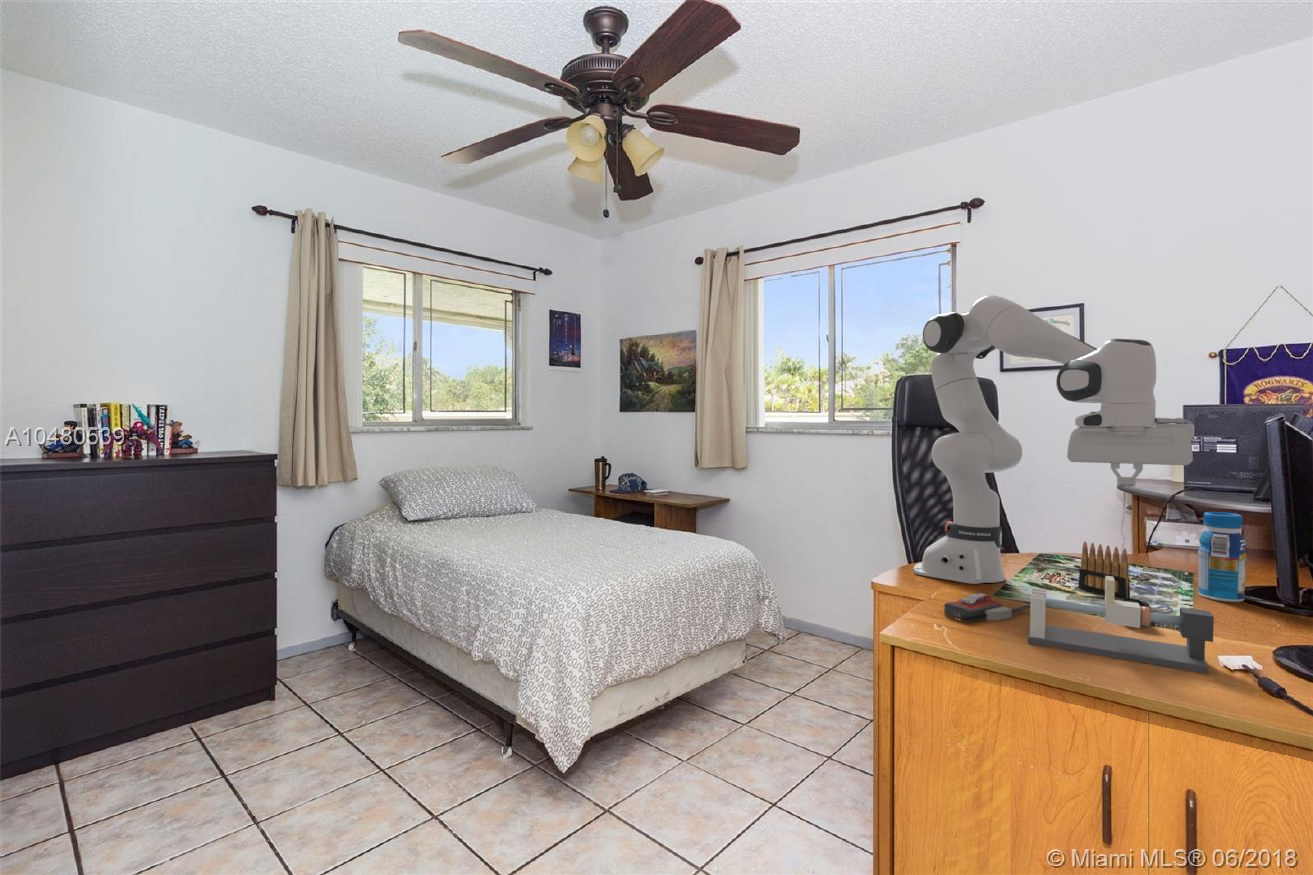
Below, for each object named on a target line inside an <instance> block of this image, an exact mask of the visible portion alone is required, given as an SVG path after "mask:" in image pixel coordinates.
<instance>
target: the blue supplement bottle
mask: <svg viewBox="0 0 1313 875" xmlns="http://www.w3.org/2000/svg"><path fill="white" fill-rule="evenodd" d="M1203 527H1206V529H1205V530H1203V532H1202V533H1201V535H1200V536H1199V539H1198V542H1199V544H1200V546H1199V547H1198V550H1197V554H1198V586H1197V587H1198V588H1197V593H1198V595H1199V596H1201V597H1202V598H1206V599H1209V600H1213V601H1219V602H1228V603H1241V602H1244V600H1245V598H1246V597H1245V592H1246V591H1245V590H1246V587H1245V586H1246V561H1247V553H1246V551H1245V548H1246V547H1247V542H1246V540H1245V538H1244V537H1243V535H1242V534H1241V533H1240V532H1239V530H1242V528H1243V516H1242V515H1241V514H1239V513H1232V512H1224V511H1207V512H1206V511H1205V512H1204V514H1203Z"/></svg>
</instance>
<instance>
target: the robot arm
mask: <svg viewBox="0 0 1313 875" xmlns="http://www.w3.org/2000/svg"><path fill="white" fill-rule="evenodd" d="M922 330H923V331H922V340H923V344H924V346H925V347H926V348H927V349H928V350H929V351H930V352H934V353H936V354H935V355H934V356H933V357H932V359H931V362H930V369H931V378H932V383H933V384H932V385H933V388H934V392H935V395H936V398H937V402H938V405H939V409H940V412H941V415H942V416H941V417H942V418H943V419H944V420H945V421H946V422H947V423H949V424H951V425H952V426H953V427H954V428H955V429H956V430H958V432H953V433H949V434H945V435H942V436H940V437H938V438H937V439H936V440H935V441H934V443H933V445H932V448H931V459H932V461H933V464H934V465H935V467H936V468H937V469H938V470H939V471H941V472H942V473H943V474H944V476H945V477H946V480H947V481H948V483H949V486H950V490H951V494H952V508H953V509H952V510H953V515H952V516H953V519H952V520H953V521H950V520H949V521H947V522H946V523H945V524H944V533H945V535H944V536H943V537H941V538H939V539H938V540H936V541H935V542H933V543H932V544H930V545H929V546H927V547H926V548H925V550H924V552H923V555H922V561H921V562H918V563H916V564H915V565H914V566H913V573H914V574H916V575H918V576H924V577H929V578H935V579H942V580H949V581H954V582H958V583H965V584H969V585H971V584H972V585H978V584H985V583H986V584H987V583H991V584H992V583H1001V582H1004V581H1006V579H1007V577H1006V574H1005V572H1004V571H1005V570H1004V567H1003V563H1002V562H1003V561H1002V555H1001V547H1002V539H1003V537H1002V536H1003V535H1002V534H1003V533H1002V526H1001V525H1000V512H1001V511H1000V501H1001V500H1000V497H999V494H998V493H997V492H995V491H994V490H993V489H991V488H990V486H989V483H988V481H987V478H986V473H1000V472H1004V471H1007V470H1009V469H1012V468H1014V467H1016V466H1018V464H1020V462H1021V459H1022V456H1023V449H1022V448H1023V447H1022V444H1021V442H1020V441H1019V439H1018V438H1017V437H1015V436H1014V435H1012V434H1011V433H1010V432H1008V431H1007V430H1006V429H1004V427H1002V426H1001V424H1000V423H999V422H998V421H997V419H996V418H995V417H994V416H993V413H992V412H991V411H990V409H989V408H988V405H987V403H986V400H985V398H984V395H983V391H982V389H981V387H980V386H981V385H980V384H979V380H978V377H977V374H976V372H975V369H974V362H975V359H977V360H982V359H985V358H986V357H987V356H988V355H989V353H991V352H993V351H995V350H996V349H997V350H999V351H1001V352H1003V353H1004V354H1005V353H1006V354H1008V355H1010V356H1012V357H1013V356H1014V357H1018V358H1029V359H1040V360H1041V359H1042V360H1047V361H1054V362H1056V363H1059V364H1062V366H1061V368H1060V369H1059V370H1058V373H1057V376H1056V379H1055V380H1056V388H1057V392H1058V393H1059V395H1060V396H1061V397H1062V398H1063V399H1064V400H1066V401H1069V402H1074V403H1080V404H1082V403H1083V404H1088V403H1089V404H1100V410H1098V411H1091V412H1089V413H1085V414H1082V415H1078V416H1076V418H1074V425H1075V426H1076V427H1075V428H1074V429H1073V430H1072V431H1071V434H1070V436H1069V439H1068V444H1067V445H1068V446H1067V454H1066V458H1067V459H1068V460H1069V461H1070V462H1071V463H1091V464H1092V463H1093V464H1094V463H1097V464H1110V470H1111V471H1112V472H1113V474H1114V475H1115V476H1116V486H1117V487H1136V481H1137V480H1136V478H1138V476H1139V475H1140V474H1141V473H1142V471H1143V468H1144V466H1143V465H1161V466H1162V465H1163V466H1188V465H1190V464H1191V463H1192V462H1193V460H1194V458H1193V455H1194V454H1193V447H1192V446H1193V445H1192V440H1193V439H1194V437H1195V431H1196V430H1195V428H1196V427H1195V425H1194V423H1192V421H1189V420H1186V419H1185V418H1183V417H1176V418H1167V417H1156V410H1157V409H1156V407H1157V406H1156V402H1157V401H1156V398H1155V395H1154V394H1155V393H1154V389H1155V386H1156V383H1157V358H1156V353H1155V349H1154V347H1153V344H1152V343H1150V342H1149V341H1147V340H1143V339H1133V338H1131V339H1129V338H1111V339H1108V340H1107V341H1105V342H1104V343H1103V345H1102V346H1100V347H1099V348H1096V347H1094V346H1093V345H1091V344H1089V343H1087V342H1085V341H1084V340H1081V339H1080V338H1077V337H1075V336H1073V335H1070V334H1069V333H1067V332H1065V331H1064V330H1062V329H1060V328H1058V327H1057V326H1055V325H1053V324H1051V323H1049V322H1047V321H1046V320H1044V319H1043V318H1041V317H1040V316H1038V315H1037V314H1035V313H1033V312H1032V311H1030V310H1028V309H1027V308H1026V307H1024V306H1022V305H1020V304H1018V303H1016V302H1014V301H1012V300H1009V299H1008V298H1005V297H1002V296H998V295H993V294H991V295H985V296H983V297H981V298H979V299H978V300H976V301H975V302H974V303H973V305H972V306H971V308H970V310H969V311H967V312H957V311H956V312H955V311H954V312H947V313H945V312H944V313H941V314H937V315H934V316H932V317H930V318H929V319H928V320H927V321H926V323H925V324H924V327H923V329H922ZM1121 464H1123V465H1125V464H1126V465H1129V464H1130V465H1132V469H1134V472H1133V473H1132V474H1131V476H1122V475H1121V474H1120V472H1119V471H1118V470H1120V468H1121V467H1120V466H1121Z"/></svg>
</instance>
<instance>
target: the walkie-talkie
mask: <svg viewBox="0 0 1313 875" xmlns="http://www.w3.org/2000/svg"><path fill="white" fill-rule="evenodd" d="M1028 609H1030V604H1026V605H1023V606H1017V607H1014V608H1013V607H1011V608H1009V607H1004V606H1003V603H1001V602H999V601H996V600H993V599H992V596H991V595H989V594H986V593H982V592H977V593H971V594H969V595H968V596H967V597H966V598H963V597H960V599H959V600H956V601H949V602H945V603H944V615H945V614H946V615H948V616H947V617H949V616H950V617H949V618H952V617H953V618H952V619H955V618H957V619H956V620H958V619H960V620H959V621H961V620H962V621H961V622H964V623H969V624H970V623H974V621H975V622H978V620H979V621H982V620H981V619H983V620H986V619H987V620H986V621H997V620H998V621H1002V620H1007V619H1011V618H1012V615H1013V614H1017V613H1021V612H1023V611H1025V610H1028ZM946 615H945V616H946Z"/></svg>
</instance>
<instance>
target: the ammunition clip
mask: <svg viewBox="0 0 1313 875" xmlns="http://www.w3.org/2000/svg"><path fill="white" fill-rule="evenodd" d="M1103 548H1104V547H1103V546H1102V544H1101V543H1099V544H1098V547H1097V549H1096V546H1095V544H1094V542H1092V543H1091V544H1090V546H1089V548H1088V543H1087V542H1086V541H1084V542H1083V545H1082V549H1081V551H1082V552H1081V558H1080V568H1079V572H1078V573H1079V575H1078V589H1080V590H1084V591H1088V592H1091V591H1093V592H1092V593H1096V594H1101V595H1103V596H1105V576H1112V577H1114V580H1115V592H1114V598H1118V599H1120V600H1121V599H1122V600H1124V599H1127V598H1131V586H1130V584H1131V583H1130V581H1131V580H1130V576H1129V571H1130V570H1129V563H1128V560H1129V559H1128V552H1127V549H1126V548H1125V547H1124V548H1123V550H1122V552H1121V555H1120V551H1119V548H1118V546H1115V547H1114V549H1113V552H1111V551H1112V550H1111V547H1110V545H1106V548H1105V552H1104V550H1103ZM1096 550H1097V553H1096ZM1112 553H1113V554H1112ZM1120 556H1121V557H1120ZM1120 558H1121V560H1120Z"/></svg>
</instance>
